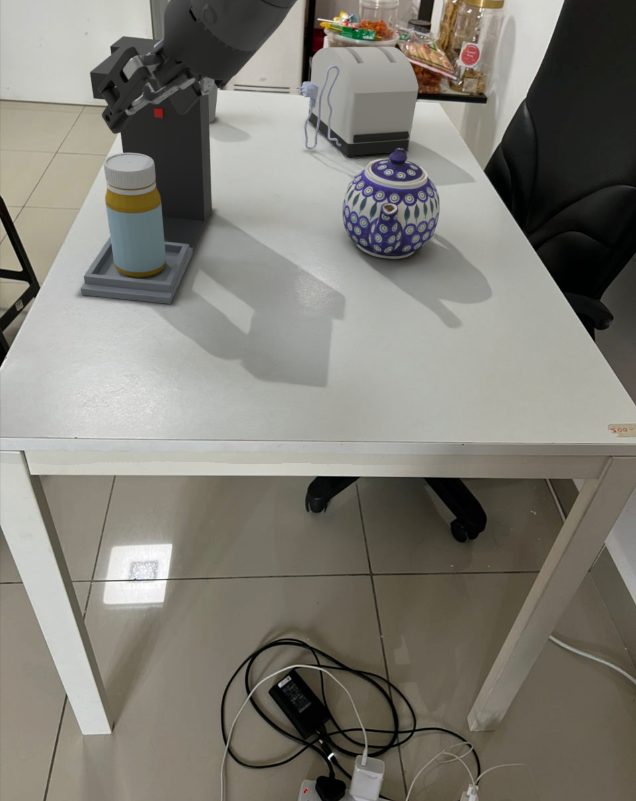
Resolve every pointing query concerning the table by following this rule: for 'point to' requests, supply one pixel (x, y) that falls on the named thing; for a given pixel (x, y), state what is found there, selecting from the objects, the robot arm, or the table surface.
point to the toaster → (362, 98)
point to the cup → (212, 103)
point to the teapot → (391, 207)
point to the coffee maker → (160, 185)
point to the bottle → (134, 215)
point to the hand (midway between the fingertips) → (144, 115)
